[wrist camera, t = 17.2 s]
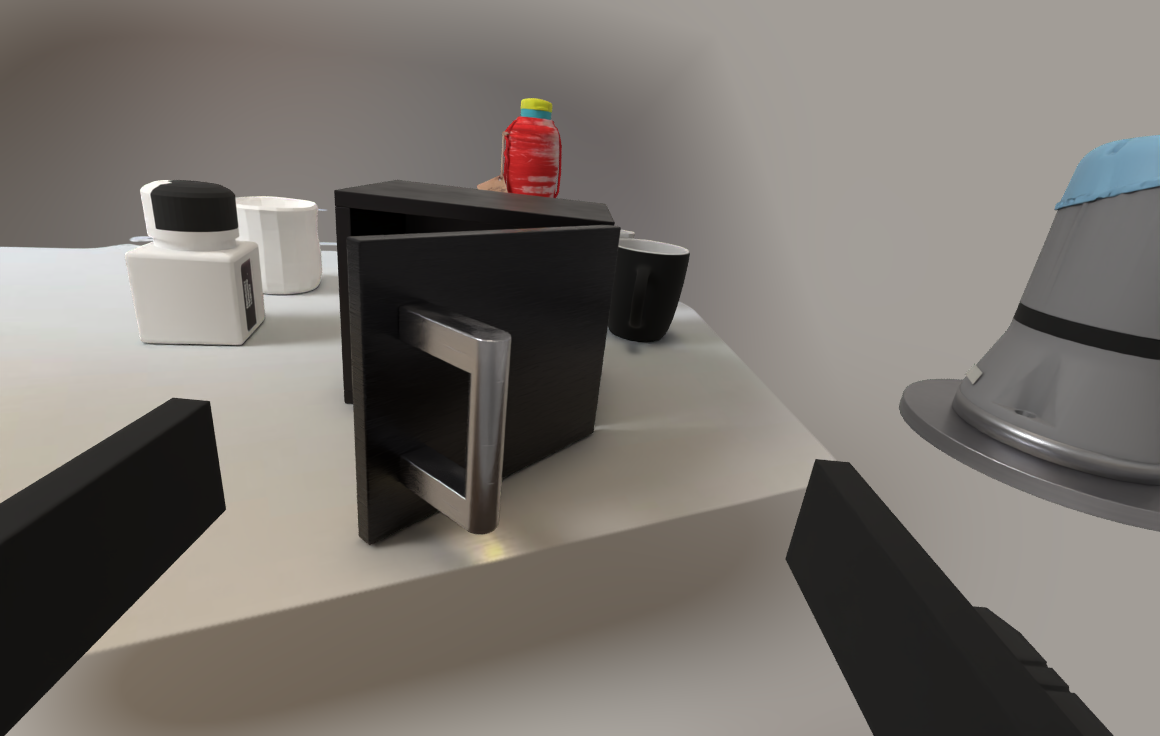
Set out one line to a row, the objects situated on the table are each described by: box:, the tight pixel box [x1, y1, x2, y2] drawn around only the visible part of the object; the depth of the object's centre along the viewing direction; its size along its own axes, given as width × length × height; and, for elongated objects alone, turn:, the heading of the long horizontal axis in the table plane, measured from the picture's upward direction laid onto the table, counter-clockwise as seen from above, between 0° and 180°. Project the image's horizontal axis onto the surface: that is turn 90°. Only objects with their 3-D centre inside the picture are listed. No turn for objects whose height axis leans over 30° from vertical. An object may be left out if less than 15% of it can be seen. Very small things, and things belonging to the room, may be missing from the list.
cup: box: [235, 196, 322, 294], centre depth 66 cm, size 10×10×10 cm
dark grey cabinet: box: [334, 180, 615, 404], centre depth 45 cm, size 13×18×15 cm
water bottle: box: [477, 98, 562, 198], centre depth 82 cm, size 12×8×25 cm, turn 115°
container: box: [125, 180, 265, 345], centre depth 49 cm, size 8×8×13 cm
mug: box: [608, 239, 690, 342], centre depth 62 cm, size 12×9×10 cm
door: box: [347, 225, 621, 545], centre depth 30 cm, size 7×18×15 cm, turn 141°
